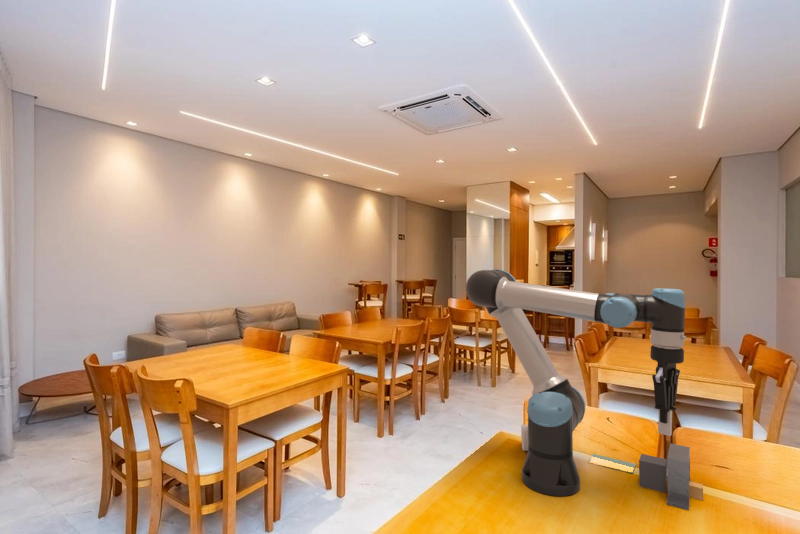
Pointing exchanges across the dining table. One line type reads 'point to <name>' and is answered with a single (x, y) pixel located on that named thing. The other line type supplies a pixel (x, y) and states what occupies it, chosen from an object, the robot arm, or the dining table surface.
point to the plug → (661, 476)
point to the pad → (616, 461)
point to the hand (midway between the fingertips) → (664, 433)
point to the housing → (678, 476)
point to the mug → (524, 437)
